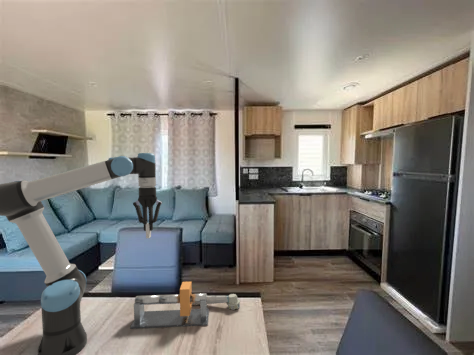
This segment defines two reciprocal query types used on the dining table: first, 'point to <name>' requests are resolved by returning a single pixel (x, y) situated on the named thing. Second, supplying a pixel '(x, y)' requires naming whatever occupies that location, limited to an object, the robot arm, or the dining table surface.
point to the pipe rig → (169, 312)
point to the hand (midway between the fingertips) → (148, 237)
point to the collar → (185, 298)
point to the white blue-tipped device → (224, 301)
